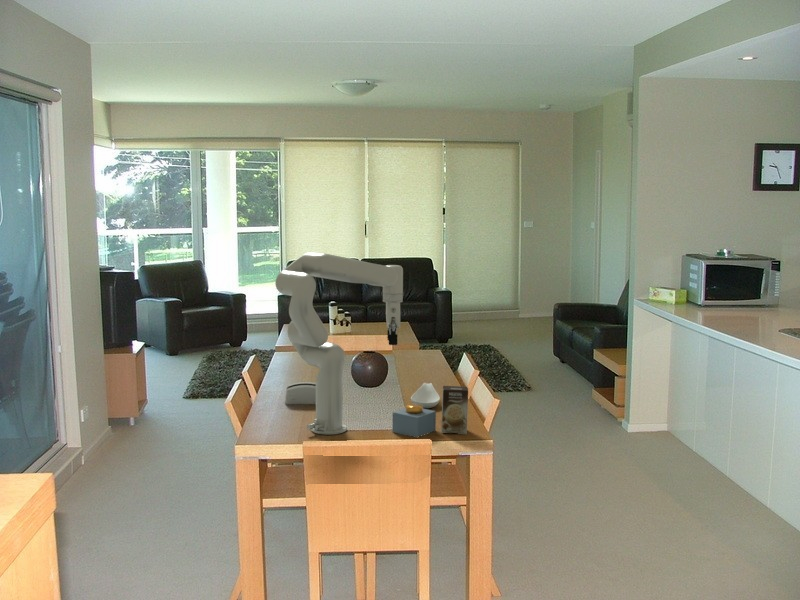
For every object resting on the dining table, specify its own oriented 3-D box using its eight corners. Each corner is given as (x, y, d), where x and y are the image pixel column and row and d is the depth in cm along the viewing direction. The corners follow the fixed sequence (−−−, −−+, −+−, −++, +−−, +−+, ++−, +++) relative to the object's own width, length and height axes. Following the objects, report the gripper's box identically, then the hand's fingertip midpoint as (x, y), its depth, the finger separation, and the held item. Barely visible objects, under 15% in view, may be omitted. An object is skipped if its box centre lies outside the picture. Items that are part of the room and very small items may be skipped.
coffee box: (441, 434, 274) (442, 389, 272) (441, 428, 280) (442, 385, 278) (467, 434, 273) (468, 390, 272) (466, 429, 280) (467, 385, 278)
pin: (420, 433, 273) (421, 408, 272) (404, 432, 274) (404, 407, 273) (423, 429, 279) (424, 404, 278) (407, 427, 280) (407, 403, 279)
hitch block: (417, 437, 269) (417, 417, 268) (392, 432, 276) (392, 412, 275) (435, 430, 278) (435, 411, 277) (410, 425, 284) (411, 406, 283)
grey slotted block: (326, 400, 319) (326, 380, 314) (326, 407, 314) (326, 386, 310) (285, 400, 317) (284, 380, 313) (284, 407, 313) (284, 386, 308)
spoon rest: (439, 411, 305) (439, 393, 304) (409, 410, 306) (409, 392, 305) (441, 396, 328) (441, 380, 327) (413, 395, 329) (414, 379, 328)
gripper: (404, 300, 284) (403, 346, 286) (401, 295, 301) (400, 338, 303) (383, 300, 283) (383, 346, 285) (381, 295, 300) (381, 338, 303)
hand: (392, 342), depth 294 cm, fingers open, 9 cm apart
